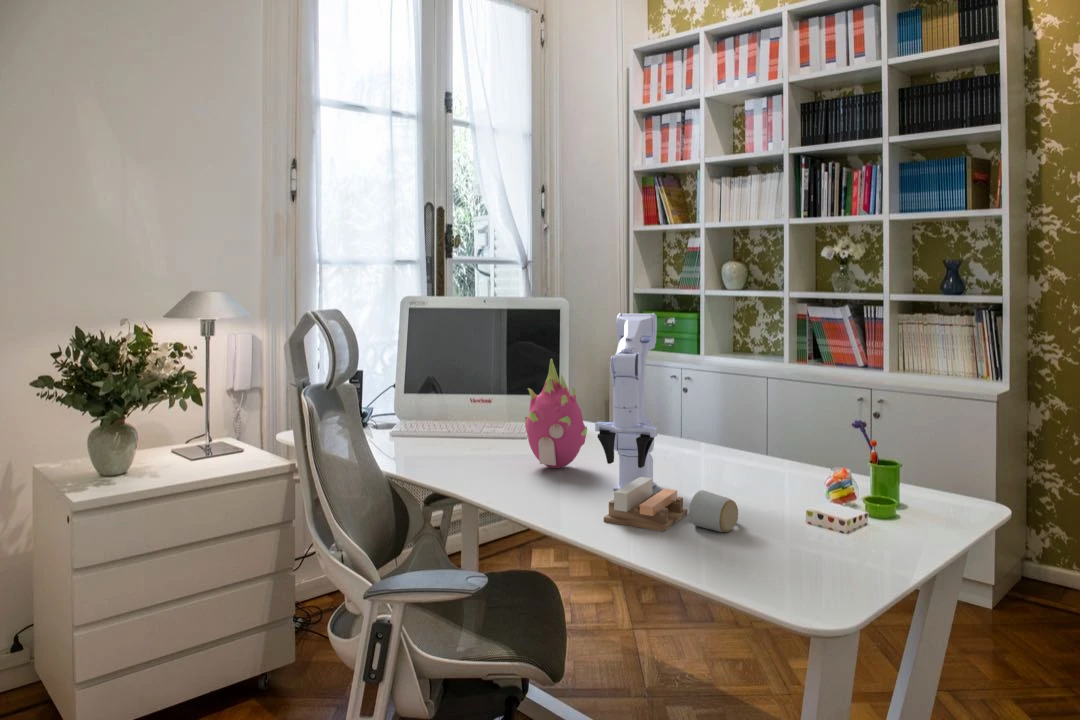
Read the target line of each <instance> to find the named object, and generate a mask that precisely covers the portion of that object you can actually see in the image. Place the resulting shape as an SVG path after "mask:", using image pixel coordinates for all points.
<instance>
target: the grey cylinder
mask: <svg viewBox="0 0 1080 720" xmlns="http://www.w3.org/2000/svg"><path fill="white" fill-rule="evenodd" d="M688 516H689V520H690V523H691V524H692V525H693V526H696V527H699V528H703V529H706V530H712V531H715V532H719V533H729V532H730V531H731V530H732V529H734V527H735V525H737V524H738V521H739V509H738V505H737V503H736V502H735V500H732V499H731V498H729V497H726V496H723V495H720V494H716V493H713V492H710V491H707V490H703V489H701V490H698V491H697V492H696V493H695V494H694V495H693V496H692V499H691V500H690V503H689V509H688Z"/></svg>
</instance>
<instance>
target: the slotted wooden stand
mask: <svg viewBox="0 0 1080 720" xmlns="http://www.w3.org/2000/svg"><path fill="white" fill-rule="evenodd" d="M656 494H657V493H652V495H651V496H650V497H649V498H651V497H653V496H654V495H656ZM649 498H648V499H649ZM648 499H646V500H648ZM646 500H645V501H646ZM645 501H643V502H645ZM643 502H641V503H640V504H642V503H643ZM640 504H637V505H635V506H634V508H632V509H631V510H629V511H627V512H624V511H618V510H614V499H611V500H610V501H608V514H606V515H605V516H603V522H604V523H611V524H617V525H623V526H628V527H633V528H634V527H635V528H640V529H645V528H646V529H645V530H651V529H653V530H652V531H657V530H660V531H659V532H663V531H664V532H666V531H667V530H668V529H669V528H671V527H672V526H673V525H675V524H676V523H677V522H678V521H680V520H681V519H682V518H684V517H685V516H686V515H688V514H689V509H688V508H684V497H683V496H681V497H680V496H677V499H676V500H675V501H674V502H672V503H671V504H669V505H668V506H666V507H665V508H662V509H661V510H660V511H659V512H658V513H656V514H655V515H654V516H649V515H643V514H640ZM687 513H688V514H687ZM684 515H685V516H684ZM683 516H684V517H683ZM680 518H681V519H680ZM679 519H680V520H679ZM676 521H677V522H676ZM675 522H676V523H675ZM674 523H675V524H674ZM671 525H672V526H671ZM670 526H671V527H670ZM667 528H668V529H667ZM666 529H667V530H666Z"/></svg>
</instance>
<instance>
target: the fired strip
mask: <svg viewBox="0 0 1080 720" xmlns="http://www.w3.org/2000/svg"><path fill="white" fill-rule="evenodd" d="M655 494H656V495H654V496H653V497H651V498H649V499H648V500H646V501H645V502H643V503H642V504H640V514H643V515H649V516H654V515H655V514H656V513H658V512H659V511H660V510H661V509H662V508H665V507H666V506H668V505H669V504H671V503H672V502H674V501H676V499H677V498H678V490H677V489H670V488H663V489H662V490H660V491H659V492H657V493H655Z"/></svg>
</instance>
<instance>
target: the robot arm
mask: <svg viewBox="0 0 1080 720" xmlns="http://www.w3.org/2000/svg"><path fill="white" fill-rule="evenodd" d="M615 323H616V324H615V325H616V328H615V329H616V336H617V342H618V343H617V348H616V352H615V354H614V355H611V357H610V365H609V366H610V367H609V368H610V369H609V370H610V375H611V376H610V377H611V387H612V408H613V409H612V410H613V411H612V421H597V422H595V423H594V424H595V425H594V427H595V428H594V429H595V430H594V431H595V432H599V433H598V434H597V439H598V441H599V443H600V444H601V446H602V449H603V452H604V454H605V458H606V464H607V465H611V464H612V463H614V461H615V452H617V455H618V484H616V485H614V486H613V487H612V490H615V491H617V490H618V489H620V488H622V487H623V486H625V485H627V484H629V483H630V482H632V481H634V480H636V479H637V478H639V477H646V478H652V488H653V487H655V486H656V485H657V482H655V481H654V458H653V456H652V454H651V453H652V452H653V451H654V448H655V438H656V437H658V427H657V426H656V427H655V424H654V422H653V420H652V419H651V418H649V417H648V416H647V415H646V414H645V413H644V408H645V387H646V386H645V385H646V361H647V357H648V354H649V351H651V350H653V349H655V348H656V344H657V332H658V317H657V314H655V312H652V313H622V312H619V313H618V314H617V316H616V321H615Z"/></svg>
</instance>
